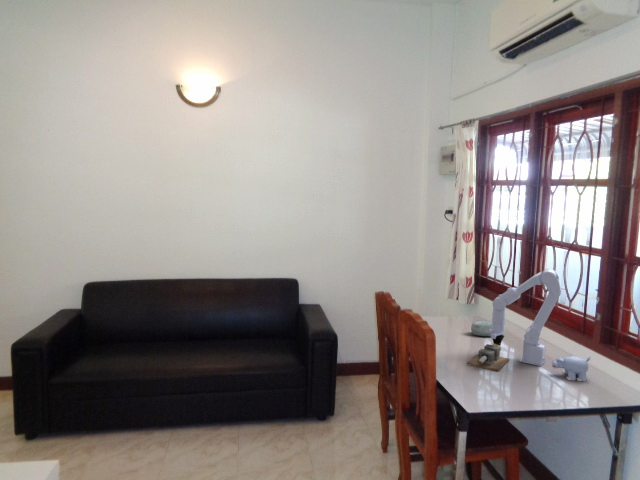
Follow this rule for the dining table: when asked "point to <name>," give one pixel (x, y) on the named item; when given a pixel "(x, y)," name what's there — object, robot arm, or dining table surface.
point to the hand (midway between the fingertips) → (496, 349)
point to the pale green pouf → (481, 328)
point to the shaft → (487, 355)
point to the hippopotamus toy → (573, 367)
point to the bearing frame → (489, 358)
